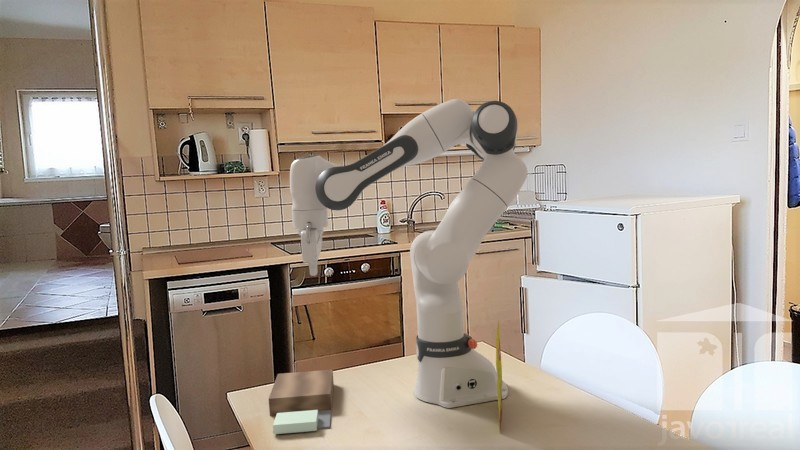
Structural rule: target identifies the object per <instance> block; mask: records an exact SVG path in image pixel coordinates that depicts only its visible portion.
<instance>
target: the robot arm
mask: <svg viewBox="0 0 800 450" xmlns="http://www.w3.org/2000/svg"><path fill="white" fill-rule="evenodd" d="M518 135H519V133H518V118H517V115H516V114H515V111H514V110H513V109H512V107H511V106H510V105H508V104H506V103H505V102H503V101H499V100H490V101H486V102H484V103H483V104H480V106H479V107H477V109H476V110H475V111H474V110H473V108H472V107H471V106H470V104H469V103H467V102H466V101H465V100H463V99H460V98H453V99H449V100H446V101H444V102H442V103H439V104H437V105H435V106H432V107H431V108H429V109H427V110H425V111H424V112H422V113H420V114H419V115H417V116H416V117H414V118H412V119H411V120H409V122H407V123H406V124H405V125H404V126H402V127H401V128H400V129H399V130H398V131H397V132H396V133H395V134H394V135H393V136H392V137H391V138H390V139H389V140H388V141H387V142H386V143H385V144H383V145H382V146H380V147H379V148H377V149H375V150H374V151H372V152H370V153H368V154H367V155H366V156H363V157H361V158H360V159H359V160H356V161H355V162H352V163H350V164H347V165H339V164H336V163H334V162H331V161H329V160H327V159H325V158H323V157H322V156H321V155H319V154H312V155H307V156H303V157H299V158H296V159H295V160H293V162H292V163H291V165H290V169H289V192H290V195H291V200H292V205H291V219H292V229H294V230H297V231H298V233H297V234H298V235H299V236H300V243H301V244H300V245H301V259H302V262H303V264H307V265H308V269H309V276H311V277H312V276H313V277H315V276H317V275H318V273H319V271H318V265H319V264H318V260H319V257H320V255H321V251H322V248H323V234H324V228H326V227H329V220H328V219H329V217H328V209H329V210H332V211H342V210H343V211H344V210H346V209H348V208H349V207H351V206H352V205H353V204H354V203H355V202H356V201H358V200H359V198H360V197H361V196H362V193H363V191H364V190H365V189H366V188H368V186H371V185H372V184H374V183H375V182H377V181H379V180H381V179H382V178H384V177H385V176H387V175H389V174H390V173H393V172H394V171H396V170H399V169H402V168H404V167H410V166H414V165H418V164H423V163H425V162H427V161H431V160H432V159H435V158H437V157H440V155H442V154H444V153H446V152H447V151H449V150H450V149H452V148H453V147H456V146H457V145H460V144H465V146H466V147H467V149H468V150H470V151H471V152H472V153H474V154H475V155H476V156H477V157H478V158H479V159H481V160H482V161H483V162H482V164H481V165H480V168H478V170H477V172H475V173H474V175H473V176H472V177H471V179H469V180H468V182H467V183H466V184H465V186H464V187H463V188H462V189H461V190H460V191H459V192H458V194H457V195H456V196H455V198H454V199H453V200H452V202H451V203H450V204H449V206H448V209H447V211H446V213H445V214H444V215H443V218H441V221H440V222H439V223H438V226H437V227H436V229H435V230H427V231H424V232H422V233H420V234H418V235H417V236H416V237H414V239H413V240H412V243H411V244H410V247H409V248H410V249H409V254H410V255H409V256H410V257H409V258H410V265H411V266H410V267H411V273H412V274H411V276H412V281H413V284H412V285H413V291H414V297H415V304H416V305H415V307H416V323H417V335H416V337H415V338H416V339H415V340H416V342H415V349H416V350H415V352H416V358H417V362H418V363H417V365H418V366H417V374H416V375H417V376H416V382H415V385H414V386H415V387H414V391H413V394H414V396H415V397H416V398H417V399H419V400H421V401H422V402H427V403H430V404H435V405H439V406H440V407H443V408H448V409H452V408H456V407H463V406H469V405H474V404H480V403H486V402H492V401H498V393H497V376H496V366H494V364H493V362H491V360H490V359H489V358H487V357H486V356H484V354H483V355H482V354H481V352H478V351H477V350H475V349H477V347H478V342H477V341H476V339H475V338H473V337H472V336H471V335H469V334H468V333H467V332H464V331H465V330H464V328H465V327H464V308H463V307H464V306H463V300H462V297H461V292H460V287H459V281H460V280H462V278H463V277H464V276H465V275H466V273H467V271H468V267H469V265H470V263H471V261H472V260H473V257H474V256H475V254H476V252H478V251H477V250H478V249H479V247H480V245H481V244H482V241H483V240H484V238H485V237H486V235H487V234H488V232H489V231H490V229H491V228H492V227H493V226H494V225H495V224H496V223H497V221H498V220H499V218H501V217H502V215H503V213H504V212H505V211H506V210H507V209H508V208H509V206H510V205H511V204H512V202H513V201H514V199H515V198H516V197H517V195H518V194H519V192H520V191H521V189H522V187H523V185H524V184H525V182H526V180H527V179H528V172H529V171H528V167H527V165H526V163H525V162H524V160H523V159H522V158H520V156H518V154H516V152H515V148H516V145H517V144H516V143H517V139H518ZM508 395H509V390H508V385H507V384H506V383H505V381H504V380H503V379H502V400H503V399H506V398H507V397H508Z"/></svg>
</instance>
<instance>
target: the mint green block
mask: <svg viewBox="0 0 800 450" xmlns="http://www.w3.org/2000/svg"><path fill="white" fill-rule="evenodd" d="M317 425H318V410H308V411H296V412H284V413H277V414H276V415H275V418H274V421H273V425H272V428H273V429H272V430H273V431H274V433H273V435H279V434H281V435H282V434H292V433H304V432H316V431H317V430H318V429H317ZM273 431H272V432H273Z"/></svg>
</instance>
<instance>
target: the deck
mask: <svg viewBox="0 0 800 450" xmlns="http://www.w3.org/2000/svg"><path fill="white" fill-rule="evenodd" d="M334 383H335V382H334V369H323V370H313V371H312V370H309V371H298V372H296V371H295V372H284V373H282V372H281V373H277V374H276V378H275V381H274V383H273V387H272V389H271V390H270V391H271V392H270V394H269V397H268V409H269V410H268V411H269V416H270V417H271V416H276V414H277V413H284V412H296V411H308V410H318V411H322V410H331V411H332V407H333V406H332V405H333V397H334V396H333V395H334V386H335V384H334Z"/></svg>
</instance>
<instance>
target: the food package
mask: <svg viewBox="0 0 800 450" xmlns="http://www.w3.org/2000/svg"><path fill="white" fill-rule="evenodd" d="M500 334H501V333H500V319H498V322H497V329H496V338H495V339H496V342H495V343H496V344H495V363H496V365H495V370H496V376H497V393H498V400H497V402H498V403H497V405H498V424H499V425H498V426H499V431H501V429H502V419H503V417H502V416H503V415H502V412H503V399H502V380H503V370H502V368H503V367H502V366H503V365H502V352H501V351H502V350H501V338H500V337H501V335H500Z"/></svg>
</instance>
